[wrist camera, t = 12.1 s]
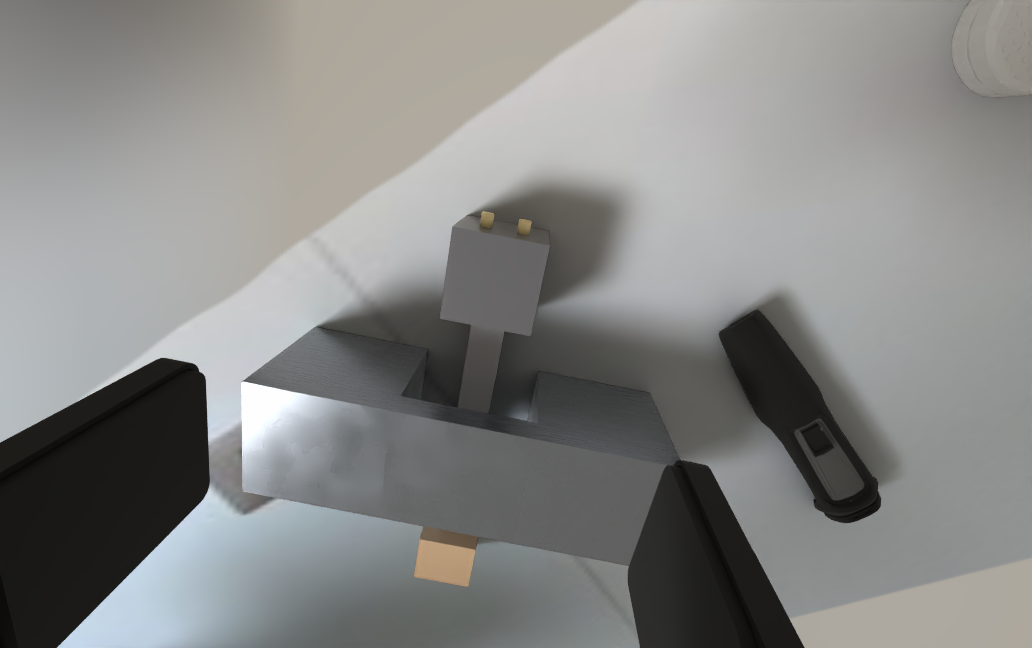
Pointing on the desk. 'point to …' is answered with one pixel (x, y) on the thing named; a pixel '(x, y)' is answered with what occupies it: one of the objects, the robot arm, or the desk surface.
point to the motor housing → (452, 449)
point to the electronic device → (995, 47)
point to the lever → (483, 341)
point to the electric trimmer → (800, 419)
